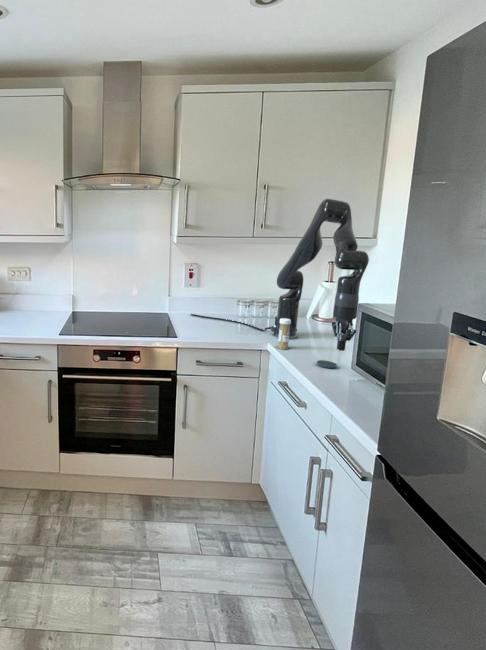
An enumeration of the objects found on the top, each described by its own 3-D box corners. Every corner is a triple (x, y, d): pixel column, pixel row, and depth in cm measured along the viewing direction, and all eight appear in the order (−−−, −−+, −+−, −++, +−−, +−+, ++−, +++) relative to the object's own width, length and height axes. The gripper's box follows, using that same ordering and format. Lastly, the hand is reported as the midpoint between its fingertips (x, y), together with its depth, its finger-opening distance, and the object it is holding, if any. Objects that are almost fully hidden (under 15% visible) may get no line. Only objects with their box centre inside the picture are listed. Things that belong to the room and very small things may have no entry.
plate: (313, 365, 167) (313, 362, 167) (321, 361, 171) (321, 359, 171) (331, 370, 162) (331, 367, 161) (339, 366, 166) (339, 364, 166)
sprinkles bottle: (287, 350, 186) (290, 320, 184) (276, 348, 189) (279, 319, 187) (288, 347, 190) (291, 318, 188) (278, 345, 193) (281, 317, 190)
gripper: (326, 301, 160) (321, 344, 163) (345, 307, 147) (339, 355, 150) (346, 301, 160) (341, 345, 163) (367, 308, 147) (361, 355, 150)
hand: (340, 349), depth 156 cm, fingers closed
